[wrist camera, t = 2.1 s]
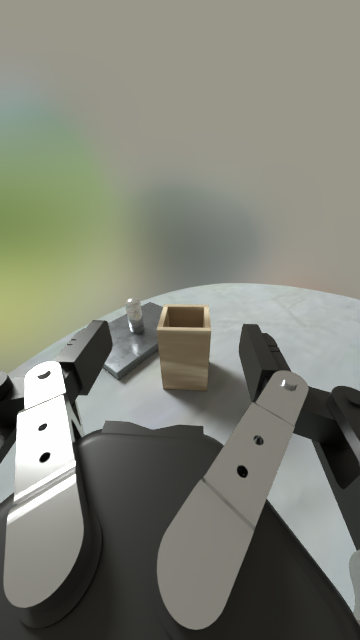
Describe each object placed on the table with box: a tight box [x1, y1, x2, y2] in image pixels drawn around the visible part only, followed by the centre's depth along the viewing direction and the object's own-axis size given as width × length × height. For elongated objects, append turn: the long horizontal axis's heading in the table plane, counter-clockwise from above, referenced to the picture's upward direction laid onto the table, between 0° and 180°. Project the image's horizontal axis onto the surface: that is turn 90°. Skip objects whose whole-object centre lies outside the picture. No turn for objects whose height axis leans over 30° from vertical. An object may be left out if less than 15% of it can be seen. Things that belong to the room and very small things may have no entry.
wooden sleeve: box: [157, 304, 211, 391], centre depth 27 cm, size 6×6×10 cm
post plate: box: [103, 298, 163, 380], centre depth 36 cm, size 18×12×8 cm, turn 141°
